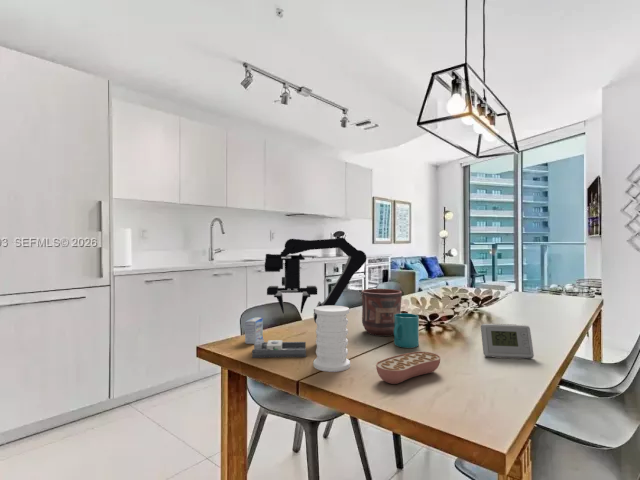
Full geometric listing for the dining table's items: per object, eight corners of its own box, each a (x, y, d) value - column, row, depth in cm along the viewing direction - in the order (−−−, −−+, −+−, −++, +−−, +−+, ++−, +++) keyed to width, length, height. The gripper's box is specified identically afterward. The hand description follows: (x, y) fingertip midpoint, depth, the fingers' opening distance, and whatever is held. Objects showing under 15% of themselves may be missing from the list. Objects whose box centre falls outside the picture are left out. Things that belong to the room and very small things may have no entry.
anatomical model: (393, 392, 97) (393, 372, 97) (367, 380, 105) (367, 362, 105) (446, 373, 111) (446, 356, 111) (419, 364, 119) (419, 349, 119)
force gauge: (282, 346, 134) (282, 339, 134) (281, 353, 125) (281, 346, 126) (264, 346, 134) (264, 339, 134) (261, 353, 125) (261, 346, 125)
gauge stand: (305, 348, 136) (305, 337, 136) (305, 356, 126) (306, 345, 126) (255, 349, 135) (255, 338, 135) (252, 357, 125) (252, 345, 125)
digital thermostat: (481, 357, 126) (481, 326, 126) (479, 350, 135) (479, 320, 135) (536, 362, 121) (536, 329, 121) (530, 355, 129) (530, 324, 129)
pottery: (411, 334, 158) (411, 291, 158) (381, 339, 148) (380, 294, 149) (382, 326, 173) (382, 287, 173) (352, 331, 163) (352, 290, 163)
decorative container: (314, 359, 123) (314, 305, 124) (349, 359, 123) (349, 305, 123) (312, 371, 112) (312, 311, 112) (351, 372, 111) (351, 311, 112)
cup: (384, 346, 139) (384, 316, 139) (403, 340, 147) (403, 312, 147) (405, 351, 133) (405, 320, 133) (423, 345, 141) (423, 315, 141)
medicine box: (255, 344, 142) (255, 321, 142) (244, 343, 143) (244, 321, 143) (263, 339, 149) (263, 317, 149) (252, 338, 150) (252, 317, 150)
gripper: (316, 270, 149) (316, 309, 149) (269, 270, 148) (269, 309, 148) (317, 272, 138) (317, 314, 138) (266, 272, 137) (266, 315, 137)
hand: (292, 313), depth 141 cm, fingers open, 6 cm apart
